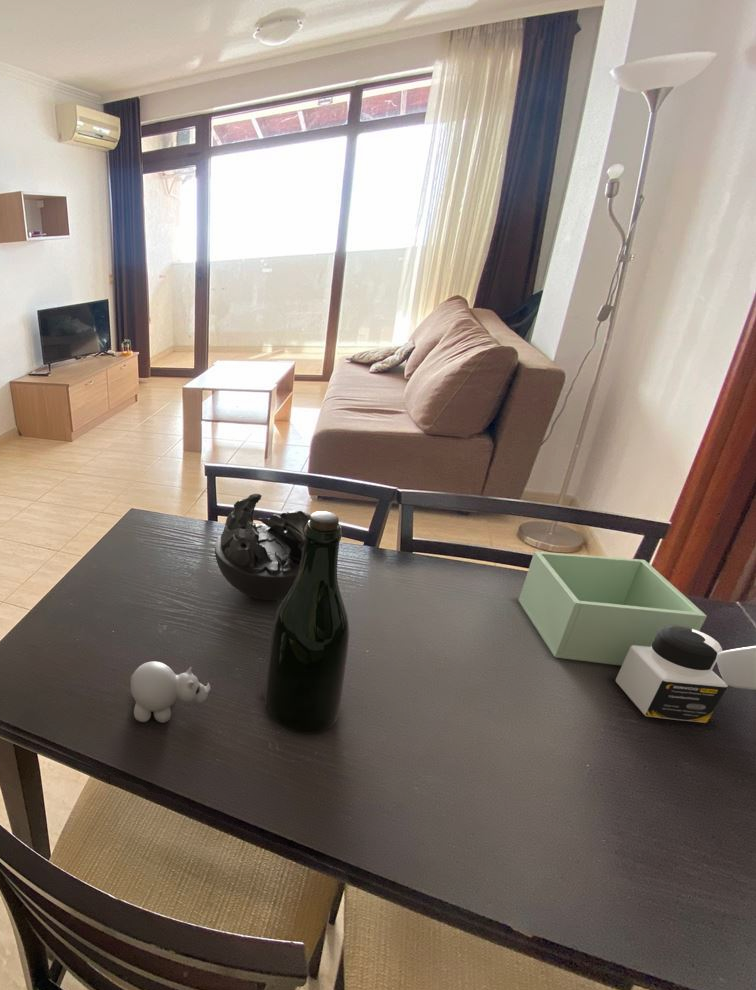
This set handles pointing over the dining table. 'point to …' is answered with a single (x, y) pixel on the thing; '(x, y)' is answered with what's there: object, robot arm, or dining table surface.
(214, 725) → the dining table surface
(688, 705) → the medicine bottle
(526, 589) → the open storage box
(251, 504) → the coal bowl
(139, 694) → the chubby cartoon animal
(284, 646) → the beer bottle
